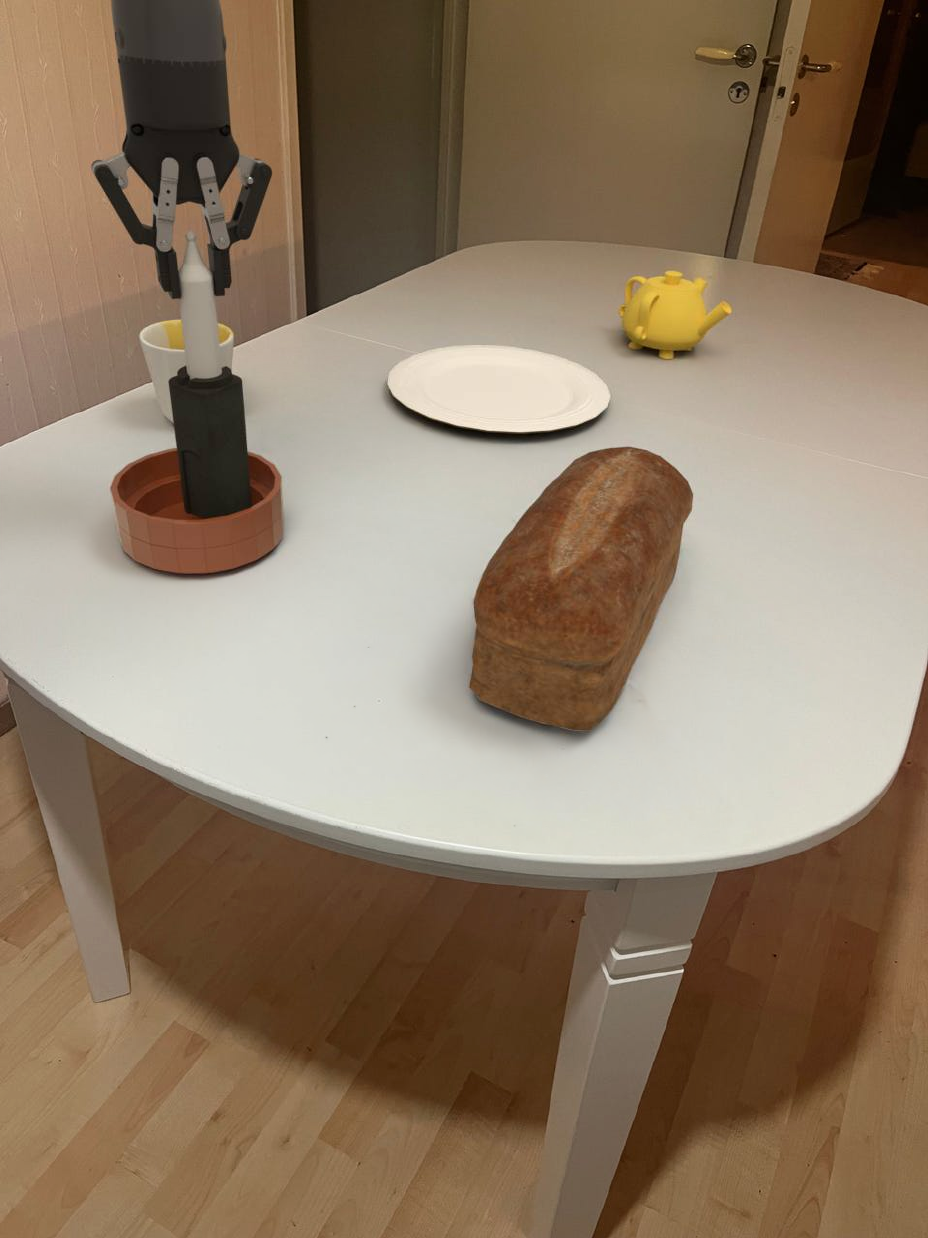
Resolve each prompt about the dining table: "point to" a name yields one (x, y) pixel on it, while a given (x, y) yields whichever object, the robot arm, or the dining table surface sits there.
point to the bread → (579, 588)
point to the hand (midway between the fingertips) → (196, 293)
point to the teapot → (668, 313)
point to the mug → (174, 355)
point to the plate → (498, 389)
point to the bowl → (193, 518)
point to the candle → (207, 404)
